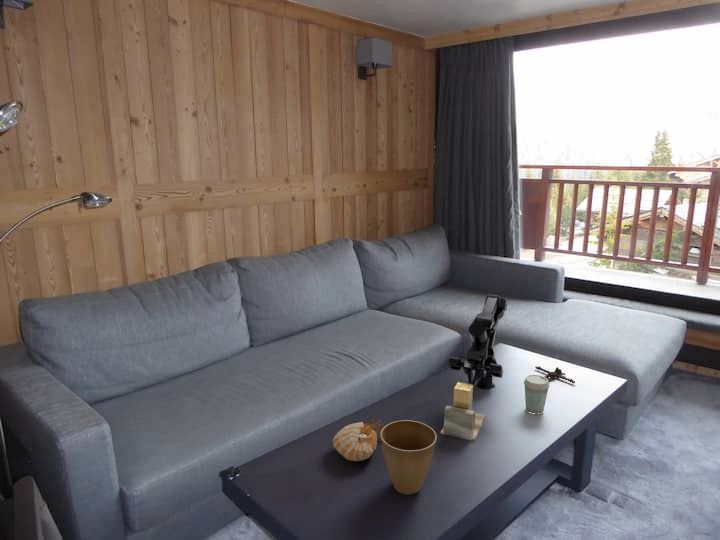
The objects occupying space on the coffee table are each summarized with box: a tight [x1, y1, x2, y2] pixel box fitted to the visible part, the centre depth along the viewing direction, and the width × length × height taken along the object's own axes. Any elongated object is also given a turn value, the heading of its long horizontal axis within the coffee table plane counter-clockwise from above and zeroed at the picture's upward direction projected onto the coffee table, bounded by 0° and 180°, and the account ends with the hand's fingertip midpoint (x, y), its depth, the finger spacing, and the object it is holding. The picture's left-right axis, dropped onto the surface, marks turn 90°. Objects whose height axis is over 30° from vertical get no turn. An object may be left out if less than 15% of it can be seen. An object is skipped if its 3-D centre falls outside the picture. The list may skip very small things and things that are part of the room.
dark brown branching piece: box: [535, 365, 576, 384], centre depth 208 cm, size 18×4×14 cm
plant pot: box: [380, 419, 437, 495], centre depth 141 cm, size 15×15×16 cm
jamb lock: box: [440, 405, 486, 442], centre depth 173 cm, size 16×11×9 cm, turn 155°
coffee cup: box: [523, 374, 550, 414], centre depth 182 cm, size 8×8×12 cm
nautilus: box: [332, 420, 385, 462], centre depth 159 cm, size 8×22×15 cm
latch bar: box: [452, 381, 474, 411], centre depth 170 cm, size 6×5×14 cm
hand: (470, 390), depth 180 cm, fingers closed
